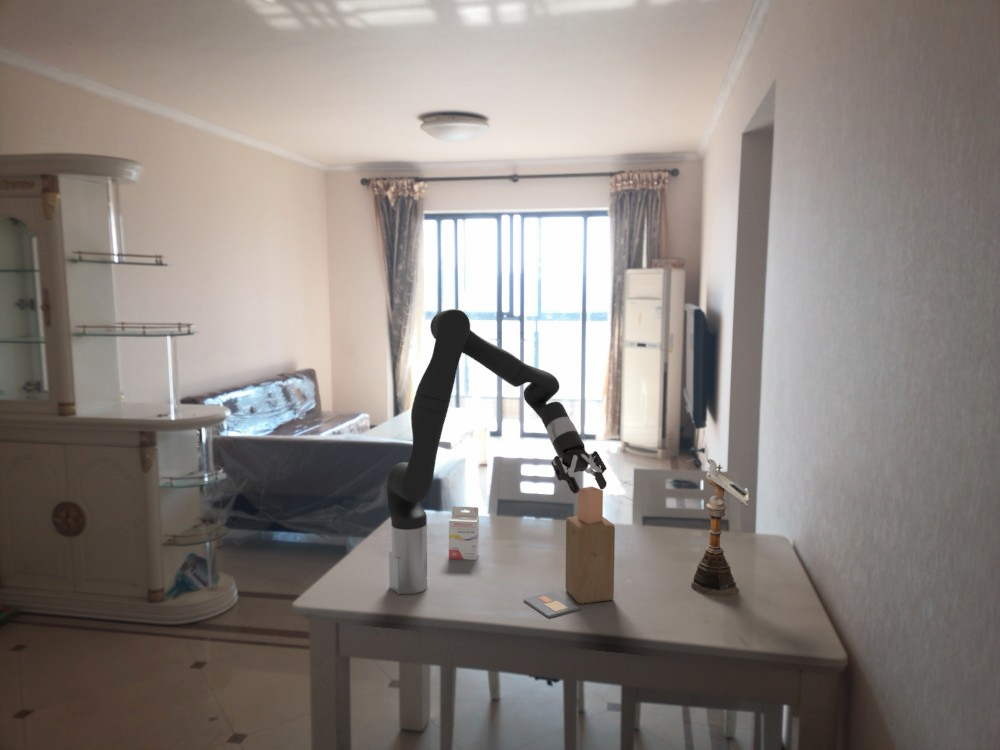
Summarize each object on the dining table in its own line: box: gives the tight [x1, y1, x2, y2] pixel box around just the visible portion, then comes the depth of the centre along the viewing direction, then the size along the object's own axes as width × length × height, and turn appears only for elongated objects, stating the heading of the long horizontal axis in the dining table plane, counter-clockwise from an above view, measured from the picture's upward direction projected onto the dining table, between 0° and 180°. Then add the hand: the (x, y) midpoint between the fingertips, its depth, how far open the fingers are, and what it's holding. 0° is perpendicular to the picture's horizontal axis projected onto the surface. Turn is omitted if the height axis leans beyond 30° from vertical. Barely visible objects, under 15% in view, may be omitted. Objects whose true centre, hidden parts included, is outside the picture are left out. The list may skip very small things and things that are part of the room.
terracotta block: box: [577, 485, 604, 524], centre depth 178 cm, size 4×4×8 cm
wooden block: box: [565, 515, 616, 604], centre depth 179 cm, size 10×10×20 cm
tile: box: [523, 591, 580, 619], centre depth 174 cm, size 9×11×1 cm
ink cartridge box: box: [448, 505, 480, 561], centre depth 207 cm, size 9×5×15 cm, turn 84°
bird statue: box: [690, 458, 750, 597], centre depth 184 cm, size 17×13×35 cm
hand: (590, 489), depth 177 cm, fingers open, 8 cm apart
